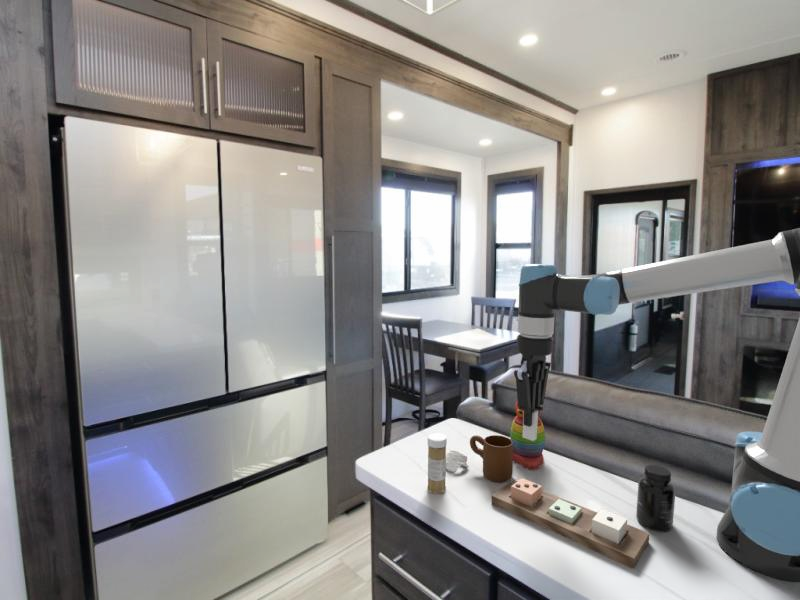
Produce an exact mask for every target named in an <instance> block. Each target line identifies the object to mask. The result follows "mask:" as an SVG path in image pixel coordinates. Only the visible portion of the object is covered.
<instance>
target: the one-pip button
mask: <svg viewBox="0 0 800 600" xmlns="http://www.w3.org/2000/svg"><path fill="white" fill-rule="evenodd" d="M627 524H628V518H625V517H623V516H620V515H618V514H615V513H613V512H610V511H607V510H605V509H602V508H600V510H599V511H598V512H597V514H596V516H595V517H594V518H593V519H592V533H593V534H595V535H598V536H600V537H602V538H605V539H607V540H609V541H612V542H614V543H616V544H619V545H620V544H621V543H622V541H623V540H624V538H623V537H624V536H625V534H626V531H627Z"/></svg>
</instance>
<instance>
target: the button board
mask: <svg viewBox="0 0 800 600" xmlns="http://www.w3.org/2000/svg"><path fill="white" fill-rule="evenodd" d="M518 481H519V480H516V479H515V478H514V479H512V480H510V481H509V482H508V483H507V484H505V485H503V487H501V488H500V489H499V490H497V491H495V492H494V494H492V495H491V505H493V506H495V507H498V508H499V509H502V510H504V511H506V512H508V513H511V514H514V515H515V516H517V517H520V518H522V519H524V520H526V521H528V522H529V523H530V522H531V523H532V524H535V525H537V526H538V527H541V528H544V529H546V530H548V531H550V532H552V533H554V534H557V535H560V537H561V536H562V537H564V538H566V539H568V540H570V541H572V542H575V543H577V544H578V545H581V546H583V547H585V548H587V549H589V550H592V551H594V552H597V553H598V554H601V555H602V556H606V557H608V558H609V559H612V560H614V561H616V562H618V563H620V564H622V565H625V566H627V567H629V568H631V569H635V567H636V565H637V563H639V560H640V559H641V557H642V555H643V553H644V551H645V550H646V548H647V546H648V545H649V543H650V533H649V532H647V531H645V530H643V529H640V528H638V527H635V526H633V525H630V524H628V523H627V531H626V534H625V536H624V537H623V539H622V540H621V542H620V543H619V544H616V543H614V542H612V541H609V540H607V539H605V538H602V537H600V536H598V535H595V534H593V533H592V519H593V518H594V517H595V516H596V514H597V513H598V512H597V511H594V510H592V509H590V508H587V507H584V506H583V505H582V506H581V505H579V504H577V503H575V502H572V501H569V500H567V499H564V498H562V497H559V496H556V495H554V494H551V493H549V492H546V491H544V490H542V498H541V499H540V500H539V501H538V502H537V503H536V504H535V505H533V506H532V507H530V506H528V505H526V504H523V503H521V502H519V501H516V500H514V499H512V498H511V486H512V485H514V484H515V483H516V482H518ZM558 499H560V500H563V501H565V502H568V503H570V504H573V505H575V506H578V507H580V508H581V516H580V518H579V519H578V520H577V521H576V522H575V523H574V524H573V525H572V524H570V523H567V522H565V521H563V520H560V519H558V518H556V517H554V516H551V515H549V508H550V507H551V506H552V505H553V504H554V503H555V502H556V501H557V500H558Z"/></svg>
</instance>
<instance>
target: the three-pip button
mask: <svg viewBox="0 0 800 600" xmlns="http://www.w3.org/2000/svg"><path fill="white" fill-rule="evenodd" d="M517 481H518V482H516V483H515V484H514V485H512V486H511V498H512V499H514V500H516V501H519V502H521V503H523V504H526V505H528V506H530V507H533V506H534V505H535V504H536V503H537V502H538V501H539V500H540V499H541V498H542V491H543V485H540V484H539V483H535V482H533V481H530V480H528V479H525V478H523V477H522V478H520V479H519V480H517Z"/></svg>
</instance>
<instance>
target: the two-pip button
mask: <svg viewBox="0 0 800 600" xmlns="http://www.w3.org/2000/svg"><path fill="white" fill-rule="evenodd" d="M549 515H551V516H554V517H556V518H558V519H560V520H563V521H565V522H567V523H570V524H572V525H573V524H574V523H575V522H576V521H577V520H578V519H579V518H580V516H581V508H580V507H578V506H575V505H573V504H570V503H568V502H565V501H563V500H560V499H558V500H557V501H556V502H555V503H554V504H553V505H552V506H551V507H550V508H549Z"/></svg>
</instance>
